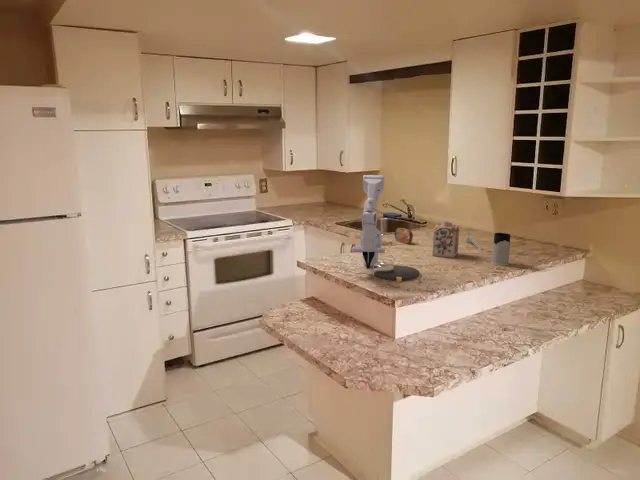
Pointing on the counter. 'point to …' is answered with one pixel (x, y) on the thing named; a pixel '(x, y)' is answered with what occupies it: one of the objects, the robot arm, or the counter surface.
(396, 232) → the tin
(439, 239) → the decorative jar
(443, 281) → the counter surface
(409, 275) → the turntable
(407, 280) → the base
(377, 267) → the cover
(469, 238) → the caliper
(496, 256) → the glass holder
